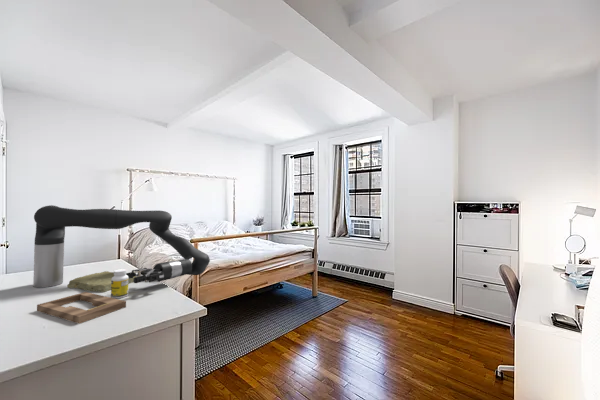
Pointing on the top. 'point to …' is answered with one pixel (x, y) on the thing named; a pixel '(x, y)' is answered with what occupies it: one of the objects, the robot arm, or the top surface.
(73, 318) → the keyhole board
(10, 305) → the top surface
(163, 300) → the top surface
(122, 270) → the supplement bottle
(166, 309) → the top surface
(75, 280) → the decorative tile
